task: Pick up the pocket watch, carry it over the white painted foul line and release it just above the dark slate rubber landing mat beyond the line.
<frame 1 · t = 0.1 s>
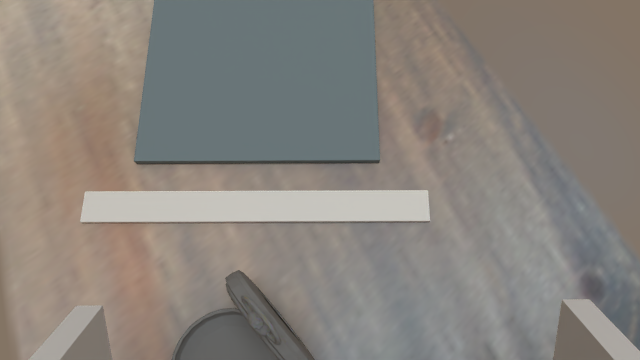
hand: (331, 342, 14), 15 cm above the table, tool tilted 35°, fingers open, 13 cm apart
landing mat: (261, 69, 34), on the table
foul line: (255, 207, 31), on the table
pocket watch: (250, 356, 29), on the table
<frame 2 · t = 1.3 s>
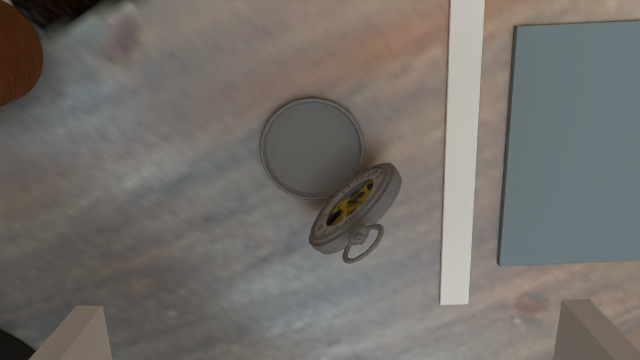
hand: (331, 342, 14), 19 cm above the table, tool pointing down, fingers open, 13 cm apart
landing mat: (611, 148, 32), on the table
foul line: (459, 155, 32), on the table
pocket watch: (322, 160, 32), on the table
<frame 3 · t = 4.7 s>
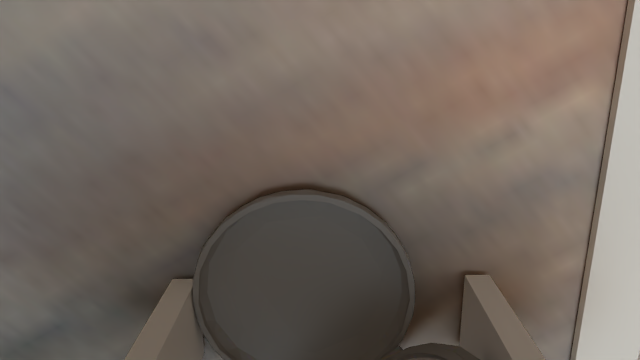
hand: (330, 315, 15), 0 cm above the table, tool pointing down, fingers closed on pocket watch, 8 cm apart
foul line: (610, 307, 16), on the table
pocket watch: (325, 306, 16), on the table, touching gripper
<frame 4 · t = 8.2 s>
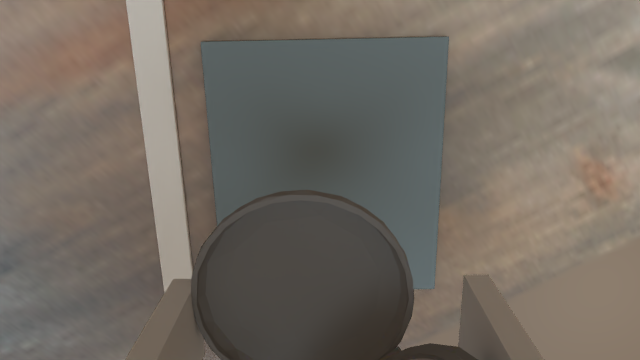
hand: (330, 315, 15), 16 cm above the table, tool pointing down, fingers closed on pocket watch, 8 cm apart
landing mat: (326, 172, 30), on the table
foul line: (166, 175, 30), on the table
pocket watch: (324, 306, 16), point 15 cm above the table, touching gripper
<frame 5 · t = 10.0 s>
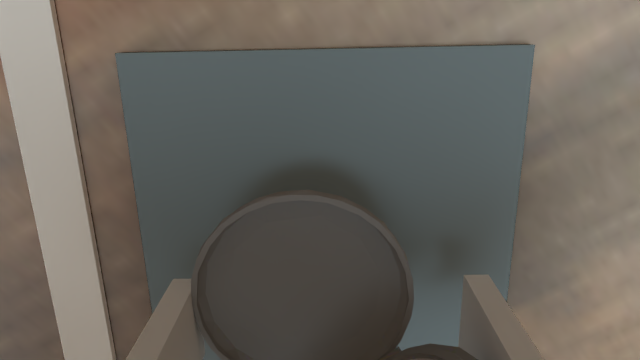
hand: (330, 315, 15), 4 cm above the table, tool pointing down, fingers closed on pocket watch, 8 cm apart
landing mat: (327, 259, 19), on the table
foul line: (74, 263, 19), on the table
pocket watch: (324, 306, 16), point 3 cm above the table, touching gripper
when the fingers open (2 cm above the table, at t = 11.3 s): pocket watch drops 1 cm, resting on landing mat.
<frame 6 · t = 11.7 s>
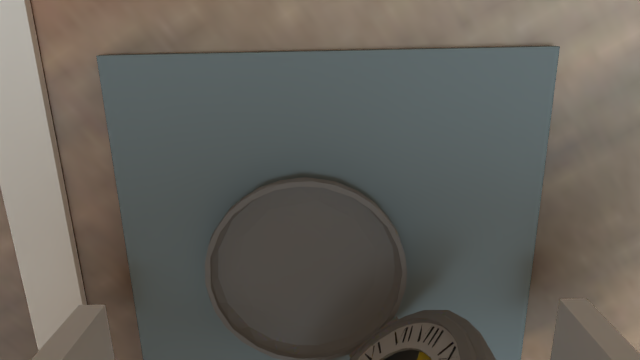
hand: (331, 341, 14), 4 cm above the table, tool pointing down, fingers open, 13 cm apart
landing mat: (329, 279, 18), on the table
foul line: (55, 282, 18), on the table
pocket watch: (327, 284, 17), resting on landing mat
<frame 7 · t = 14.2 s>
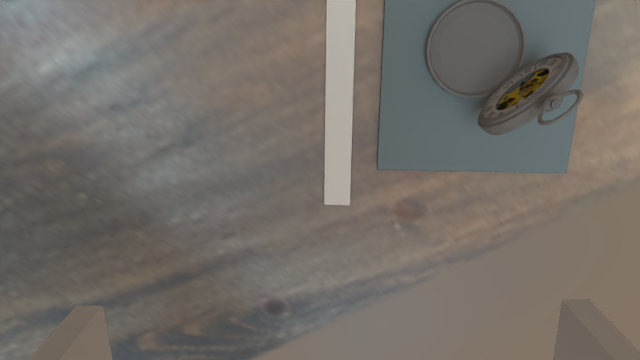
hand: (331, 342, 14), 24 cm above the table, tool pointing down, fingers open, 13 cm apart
landing mat: (480, 61, 35), on the table
foul line: (340, 59, 35), on the table
pocket watch: (480, 62, 34), resting on landing mat
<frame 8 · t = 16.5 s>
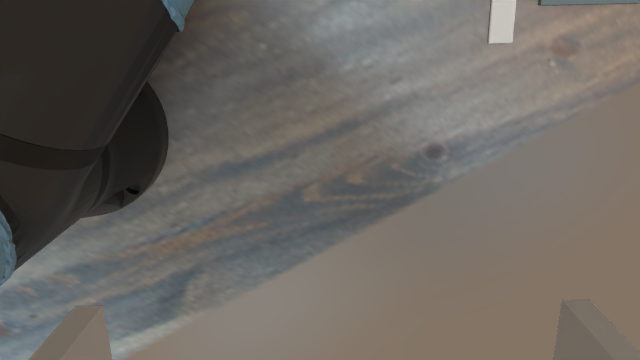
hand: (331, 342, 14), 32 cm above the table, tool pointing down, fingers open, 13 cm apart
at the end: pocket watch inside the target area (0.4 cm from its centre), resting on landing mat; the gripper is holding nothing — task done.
